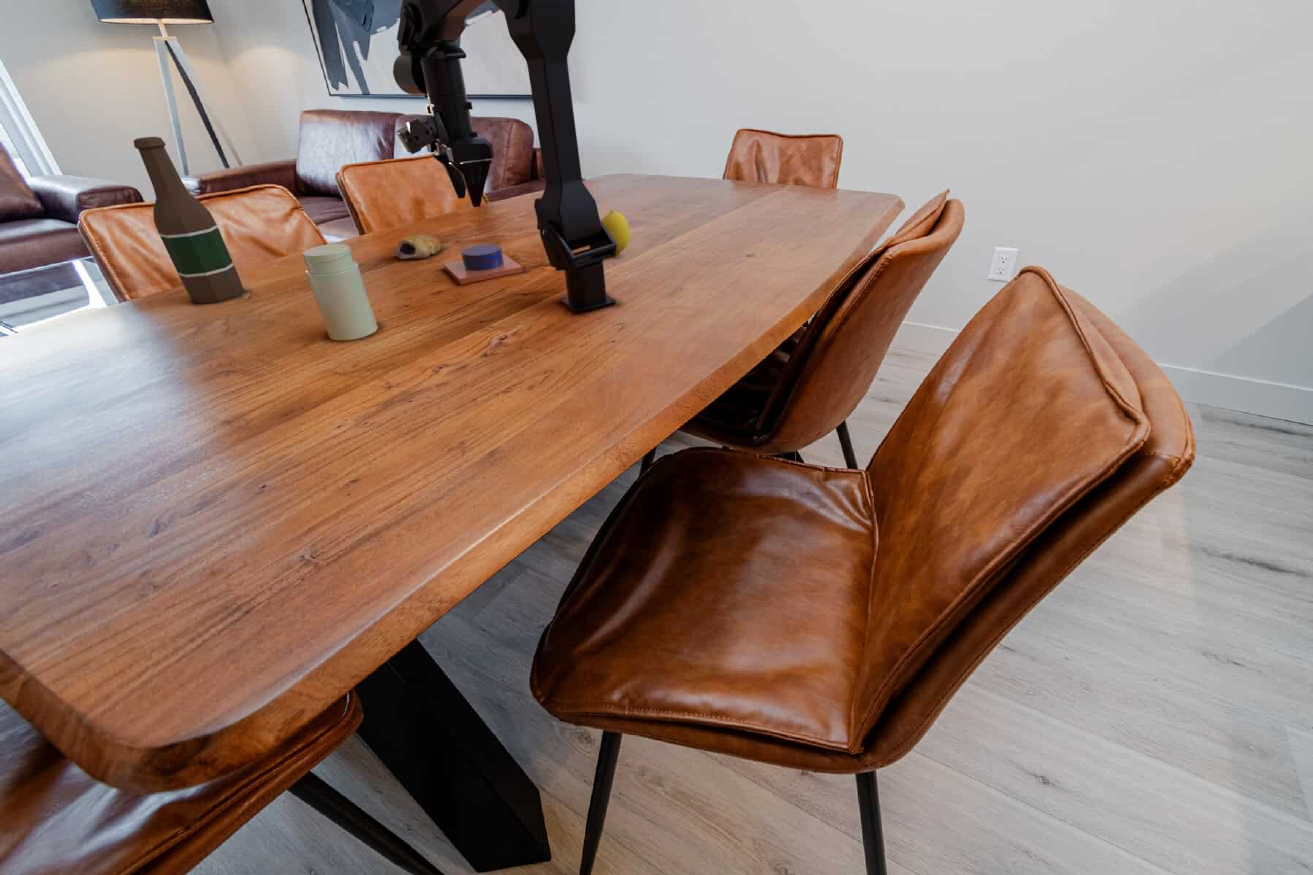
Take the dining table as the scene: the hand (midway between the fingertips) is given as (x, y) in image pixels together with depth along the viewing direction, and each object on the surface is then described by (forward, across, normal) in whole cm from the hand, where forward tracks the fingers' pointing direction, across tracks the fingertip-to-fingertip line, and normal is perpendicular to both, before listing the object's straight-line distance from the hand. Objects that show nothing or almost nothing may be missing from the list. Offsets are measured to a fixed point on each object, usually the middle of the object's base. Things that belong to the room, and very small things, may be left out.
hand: (468, 202), depth 100 cm
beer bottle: (+12, -15, -41) cm, 45 cm away
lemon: (+12, +7, +23) cm, 27 cm away
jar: (+12, +17, -24) cm, 31 cm away
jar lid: (+8, 0, 0) cm, 8 cm away
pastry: (+12, -19, -7) cm, 23 cm away
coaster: (+12, 0, 0) cm, 12 cm away
